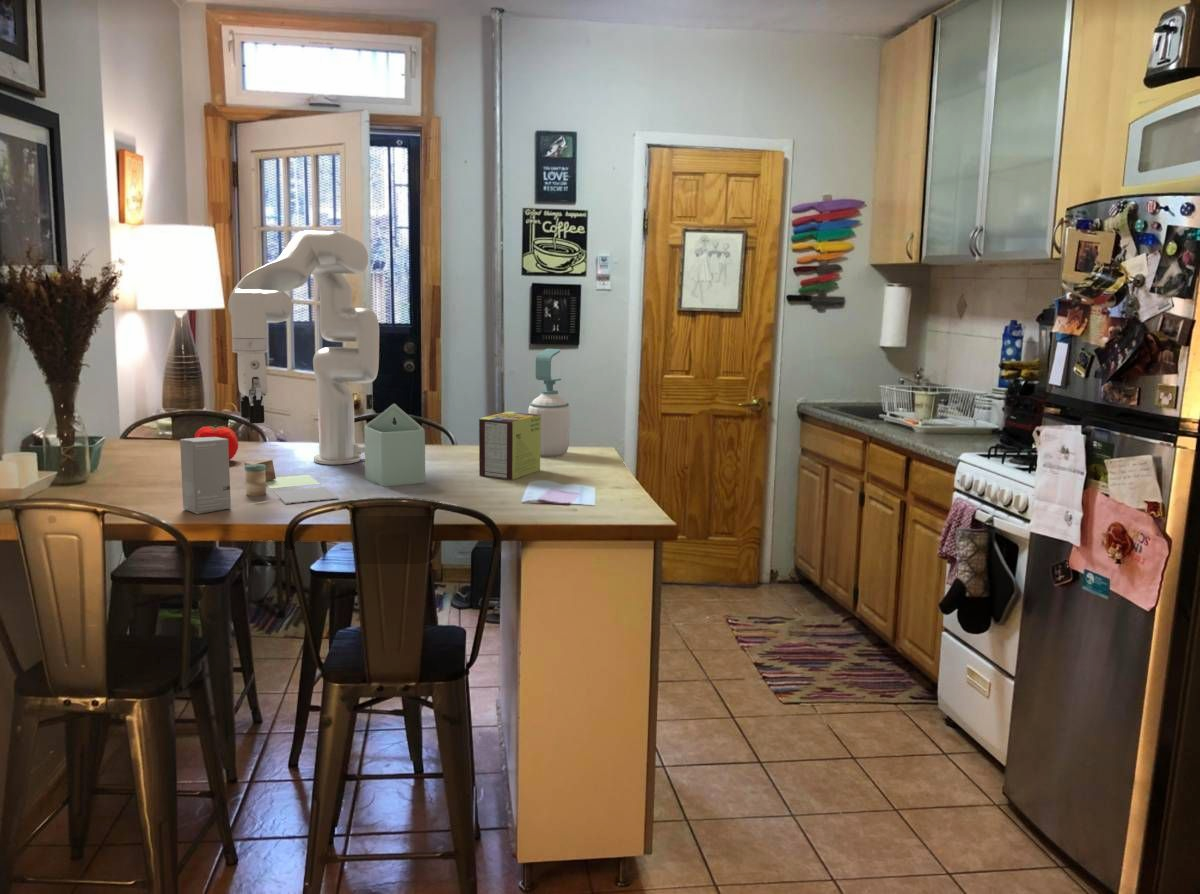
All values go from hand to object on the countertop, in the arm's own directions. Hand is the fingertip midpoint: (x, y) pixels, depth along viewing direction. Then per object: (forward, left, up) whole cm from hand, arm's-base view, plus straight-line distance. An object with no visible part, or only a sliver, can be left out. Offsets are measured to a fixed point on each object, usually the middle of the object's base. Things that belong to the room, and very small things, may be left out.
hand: (252, 420), depth 218 cm
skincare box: (+12, +9, -18) cm, 23 cm away
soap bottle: (-87, -19, -18) cm, 91 cm away
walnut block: (-4, -14, -17) cm, 23 cm away
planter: (-32, 0, -18) cm, 37 cm away
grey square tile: (-10, +6, -18) cm, 21 cm away
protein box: (-65, +1, -18) cm, 68 cm away
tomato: (+2, -44, -18) cm, 48 cm away
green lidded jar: (0, 0, -18) cm, 18 cm away
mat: (-10, -10, -18) cm, 23 cm away
